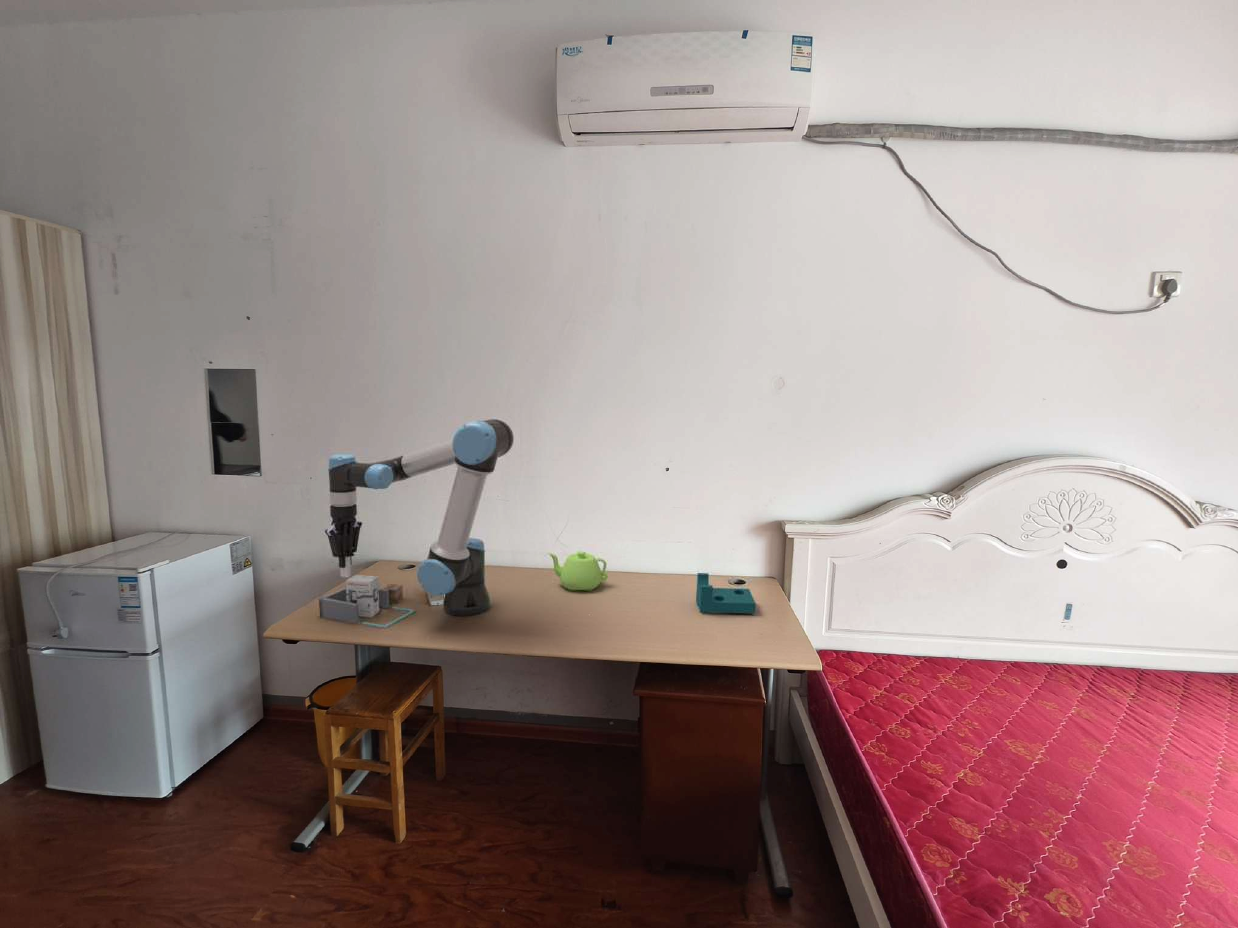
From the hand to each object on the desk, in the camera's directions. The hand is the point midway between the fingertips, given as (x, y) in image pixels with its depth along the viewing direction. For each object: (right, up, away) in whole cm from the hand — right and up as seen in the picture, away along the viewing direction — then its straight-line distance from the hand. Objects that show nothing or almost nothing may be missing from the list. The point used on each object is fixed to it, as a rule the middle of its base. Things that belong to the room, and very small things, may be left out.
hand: (345, 576), depth 182 cm
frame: (+15, -12, -3) cm, 20 cm away
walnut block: (+11, -10, +10) cm, 18 cm away
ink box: (+6, -12, 0) cm, 13 cm away
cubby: (+3, -12, +1) cm, 12 cm away
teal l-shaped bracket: (+123, -13, +11) cm, 124 cm away
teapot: (+72, -10, +28) cm, 78 cm away
